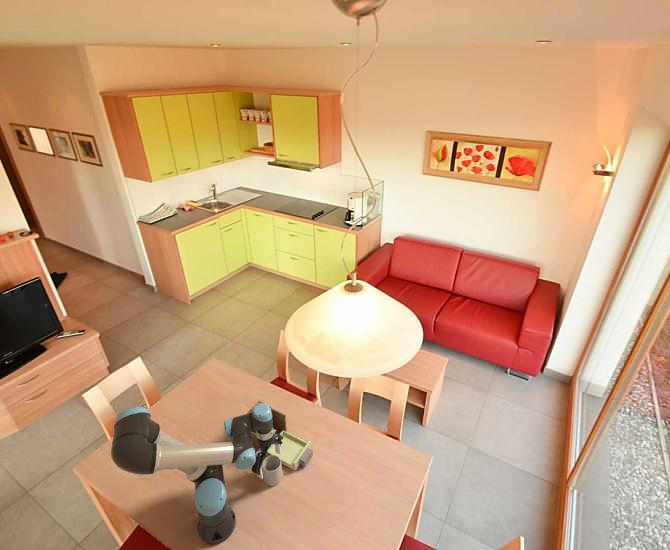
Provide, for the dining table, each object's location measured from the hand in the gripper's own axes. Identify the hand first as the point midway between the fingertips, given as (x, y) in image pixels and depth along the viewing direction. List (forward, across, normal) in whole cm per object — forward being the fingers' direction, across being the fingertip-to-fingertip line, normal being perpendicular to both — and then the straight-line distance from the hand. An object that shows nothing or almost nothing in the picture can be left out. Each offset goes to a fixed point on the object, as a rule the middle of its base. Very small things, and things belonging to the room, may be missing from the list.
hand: (269, 464), depth 177 cm
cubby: (+9, +14, +15) cm, 23 cm away
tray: (+8, +15, -2) cm, 17 cm away
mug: (+9, 0, 0) cm, 9 cm away
